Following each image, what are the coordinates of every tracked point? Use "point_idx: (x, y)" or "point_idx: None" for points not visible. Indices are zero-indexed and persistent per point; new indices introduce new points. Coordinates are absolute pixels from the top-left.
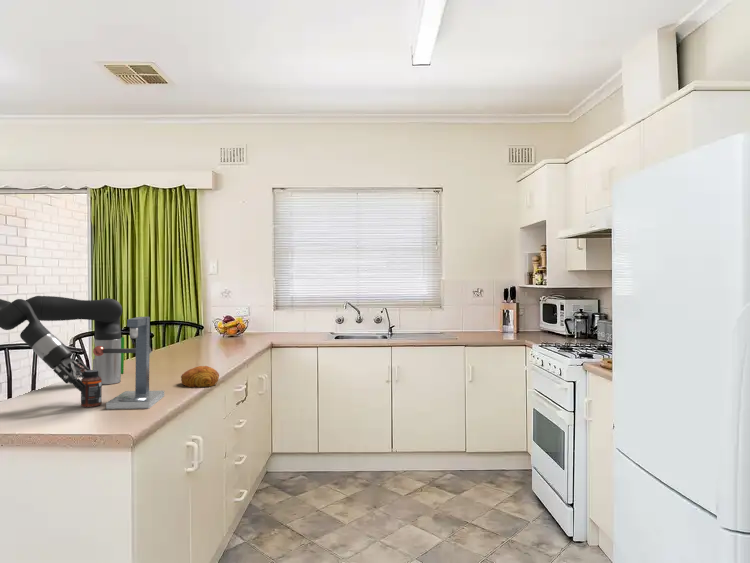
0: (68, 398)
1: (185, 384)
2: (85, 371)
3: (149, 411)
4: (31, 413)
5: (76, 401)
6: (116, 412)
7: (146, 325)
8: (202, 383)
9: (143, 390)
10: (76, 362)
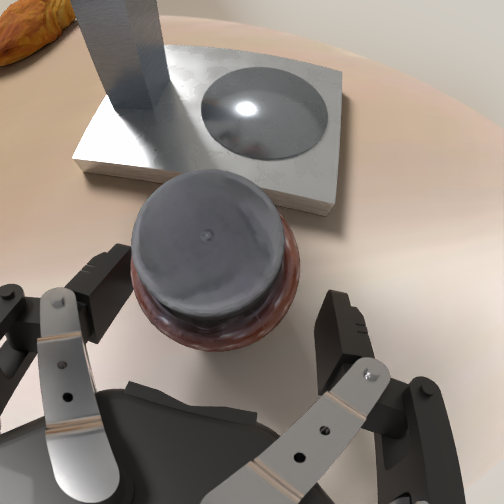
0: (31, 413)
1: (41, 45)
2: (245, 298)
3: (376, 91)
4: None
5: (96, 380)
6: (385, 176)
7: None
8: None
9: (163, 76)
10: (68, 450)
